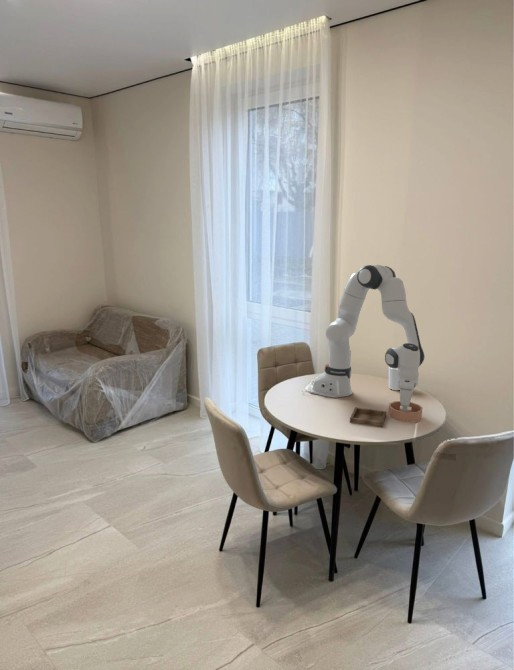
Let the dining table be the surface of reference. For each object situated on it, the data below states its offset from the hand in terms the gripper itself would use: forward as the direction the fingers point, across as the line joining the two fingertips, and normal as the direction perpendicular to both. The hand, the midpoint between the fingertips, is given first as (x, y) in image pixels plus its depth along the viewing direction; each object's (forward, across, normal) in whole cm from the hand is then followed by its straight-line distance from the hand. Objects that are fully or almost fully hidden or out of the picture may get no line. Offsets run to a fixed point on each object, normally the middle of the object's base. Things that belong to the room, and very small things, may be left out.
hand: (405, 408), depth 223 cm
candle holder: (+4, -40, -7) cm, 41 cm away
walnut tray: (+4, +11, -15) cm, 19 cm away
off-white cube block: (+3, 0, 0) cm, 3 cm away
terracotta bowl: (+4, 0, 0) cm, 4 cm away
